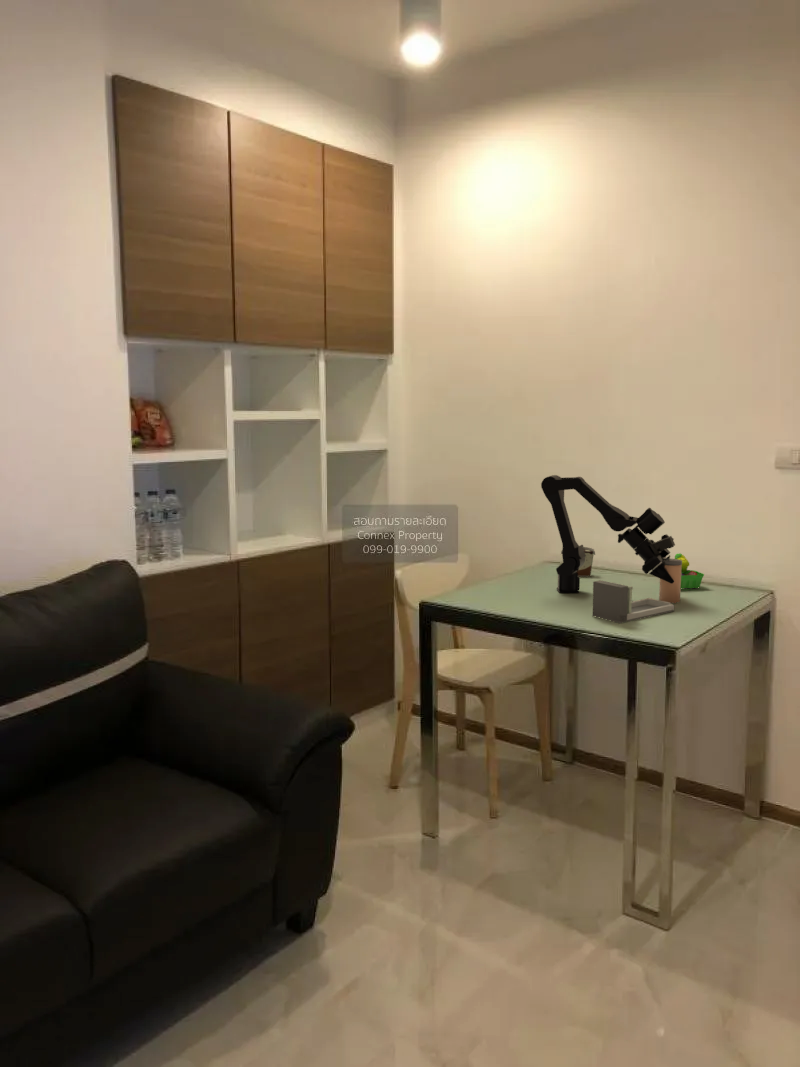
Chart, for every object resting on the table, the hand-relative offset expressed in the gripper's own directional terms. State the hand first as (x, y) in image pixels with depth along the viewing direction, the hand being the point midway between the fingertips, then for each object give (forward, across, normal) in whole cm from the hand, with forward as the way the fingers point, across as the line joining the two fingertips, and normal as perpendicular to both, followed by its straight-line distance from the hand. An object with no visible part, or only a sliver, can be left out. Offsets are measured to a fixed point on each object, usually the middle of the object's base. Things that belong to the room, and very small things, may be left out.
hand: (674, 580), depth 275 cm
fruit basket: (+4, +22, +5) cm, 23 cm away
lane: (-1, -22, +10) cm, 25 cm away
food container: (-23, +29, +32) cm, 49 cm away
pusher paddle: (-4, -27, +12) cm, 30 cm away
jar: (+4, 0, +6) cm, 7 cm away
